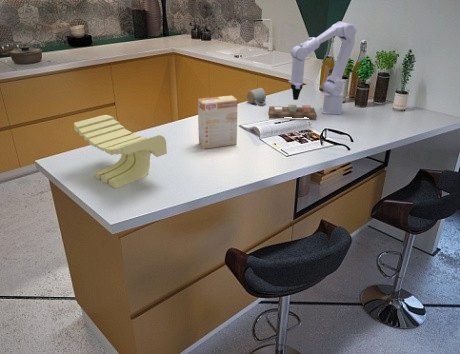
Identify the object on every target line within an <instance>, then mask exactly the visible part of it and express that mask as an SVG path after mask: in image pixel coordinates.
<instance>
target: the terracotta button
mask: <svg viewBox="0 0 460 354" xmlns="http://www.w3.org/2000/svg"><path fill="white" fill-rule="evenodd" d="M311 108H312V107H311V105H310V104H302V112H308V113H310V112H311Z"/></svg>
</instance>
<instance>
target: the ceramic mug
mask: <svg viewBox="0 0 460 354" xmlns="http://www.w3.org/2000/svg"><path fill="white" fill-rule="evenodd" d="M246 97H247V98H246V99H247V101H248V102H249V103H250V104H251V105H252V104H256V105H257V106H259V107H261V106H262V107H264V106H265V105H266V100H267V99H266V98H267V94H266V91H265V89H264V88H262V87H258V88H255V89H251V90H249V91H248V92H247V94H246Z"/></svg>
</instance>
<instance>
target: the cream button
mask: <svg viewBox="0 0 460 354" xmlns="http://www.w3.org/2000/svg"><path fill="white" fill-rule="evenodd" d="M282 107H283V106H277V107H274V111H281V112H282Z"/></svg>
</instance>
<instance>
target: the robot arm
mask: <svg viewBox="0 0 460 354" xmlns="http://www.w3.org/2000/svg"><path fill="white" fill-rule="evenodd" d="M356 32H357V29H356V27H355V25H354V24H353V23H348V22H344V21H340V20H339V21H337V22H336V23H333V24H332V25H331V26H330V27H329V28H328V29H326V30H325V31H324V32H322V33H320V34H319V35H318V36H317V37H314V36H312V37H308V39H307V40H306V41H304V42H301V43H300V44H299V45H295V46H294V47H292V49H291V51H290V56H291V57H292V61H291V62H292V64H291V65H292V66H291V75H290V76H291V78H290V79H289V80H288V83H289V84H290V89H291V90H292V91H291V92H292V99H293V100H294V101H298V100H299V98H300V94H301V91H302V89H303V84H304V73H305V61H306V59H307V58H308V55H309V54H311V53H313V52H314V51H316V50H317V49H319V48H320V45H321V44H322V43H324V42H326V41H328V40H330V39H331V38H333V37H338V38H339V39H340V41H341V43H342V44H341V47H340V49H339V53H338V54H337V58H336V59H335V60H336V61H335V63H334V65H333V69H332V71H331V74H330V75H329V76H327V77H326V80H325V81H324V82H323V84H322V90H323V92H324V94H323V104H322V108H320V110H321V114H324V115H325V114H327V115H342V110H343V103H344V97H343V95H341V94H342V92H343V87H344V80H343V76H344V73H345V70H346V67H347V65H348V62H349V60H350V57H351V54H352V51H353V49H354V46H355V43H356Z"/></svg>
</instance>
